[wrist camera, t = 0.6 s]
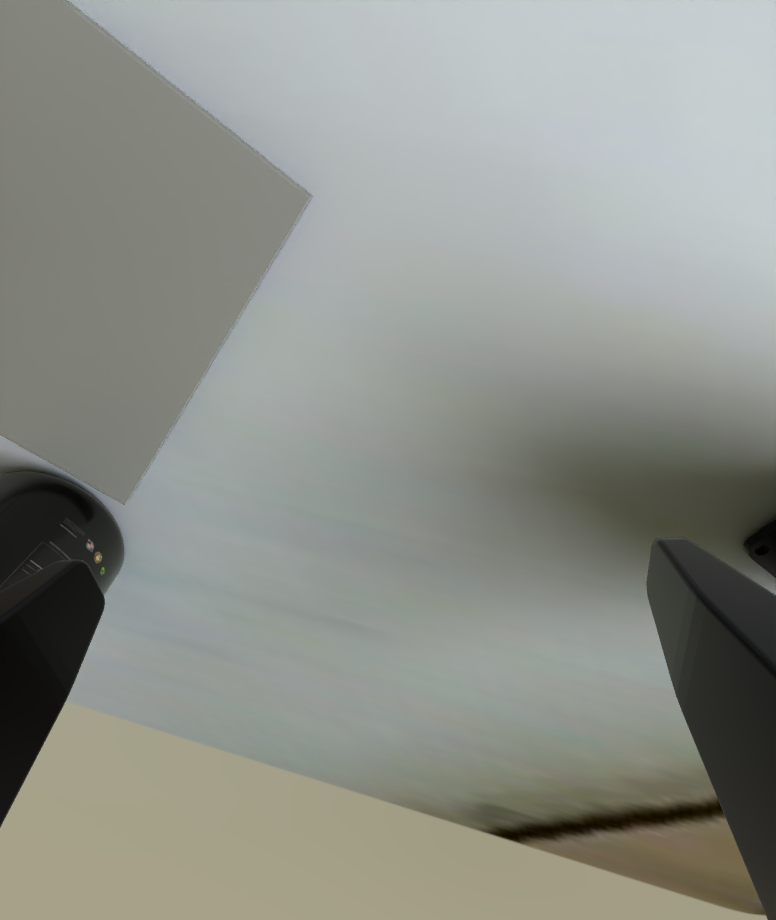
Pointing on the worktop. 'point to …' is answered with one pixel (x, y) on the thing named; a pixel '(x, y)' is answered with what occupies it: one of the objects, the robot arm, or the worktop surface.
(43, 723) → the robot arm
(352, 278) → the worktop surface
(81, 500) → the supplement bottle
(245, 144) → the shelf board
